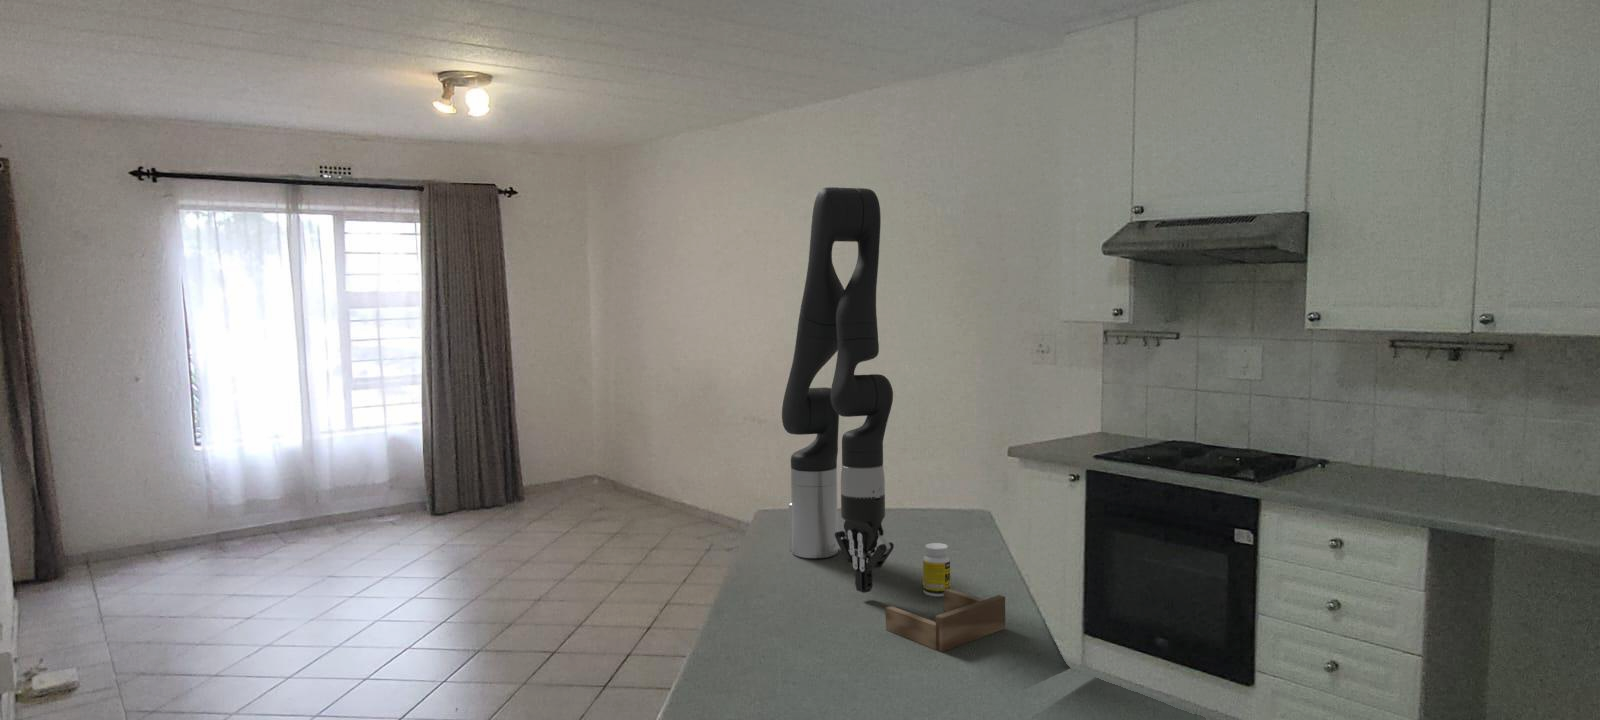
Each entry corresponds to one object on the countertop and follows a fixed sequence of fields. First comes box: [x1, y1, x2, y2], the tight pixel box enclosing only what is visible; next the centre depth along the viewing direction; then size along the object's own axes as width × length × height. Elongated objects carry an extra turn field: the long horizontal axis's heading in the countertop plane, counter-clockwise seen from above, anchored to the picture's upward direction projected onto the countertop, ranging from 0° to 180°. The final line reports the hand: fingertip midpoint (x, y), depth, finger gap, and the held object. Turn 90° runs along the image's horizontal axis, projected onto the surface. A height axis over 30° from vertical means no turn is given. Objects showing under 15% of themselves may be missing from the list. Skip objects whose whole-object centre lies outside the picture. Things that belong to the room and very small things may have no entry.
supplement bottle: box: [922, 542, 951, 597], centre depth 148 cm, size 5×5×8 cm
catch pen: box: [885, 588, 1006, 653], centre depth 131 cm, size 12×14×5 cm
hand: (863, 590), depth 145 cm, fingers closed
